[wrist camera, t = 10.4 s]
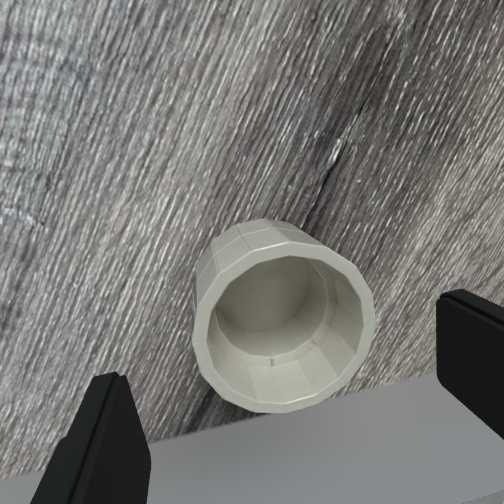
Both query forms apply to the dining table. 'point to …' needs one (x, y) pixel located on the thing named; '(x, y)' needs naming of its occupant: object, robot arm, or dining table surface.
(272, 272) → the white cup
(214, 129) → the dining table surface
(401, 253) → the dining table surface
